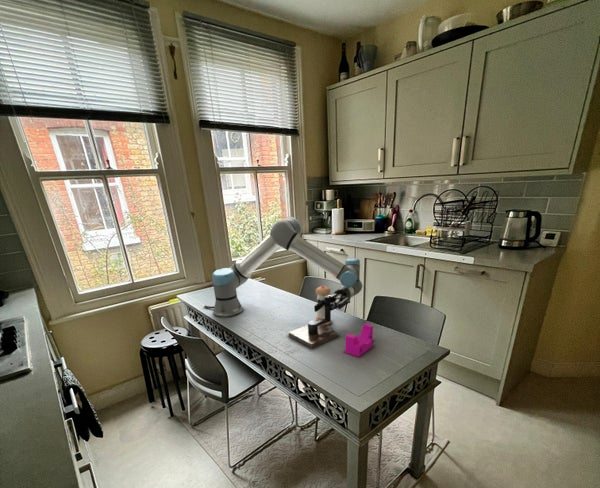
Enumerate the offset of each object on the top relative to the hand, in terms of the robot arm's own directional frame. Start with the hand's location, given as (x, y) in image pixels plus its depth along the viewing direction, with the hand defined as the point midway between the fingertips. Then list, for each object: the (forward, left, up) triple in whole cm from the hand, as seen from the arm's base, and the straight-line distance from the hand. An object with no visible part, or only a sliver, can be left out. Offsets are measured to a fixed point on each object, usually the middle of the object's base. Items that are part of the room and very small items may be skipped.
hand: (320, 309), depth 142 cm
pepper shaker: (-8, +9, -2) cm, 12 cm away
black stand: (0, 0, -10) cm, 10 cm away
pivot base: (-1, -4, -12) cm, 13 cm away
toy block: (+21, +4, -12) cm, 25 cm away
